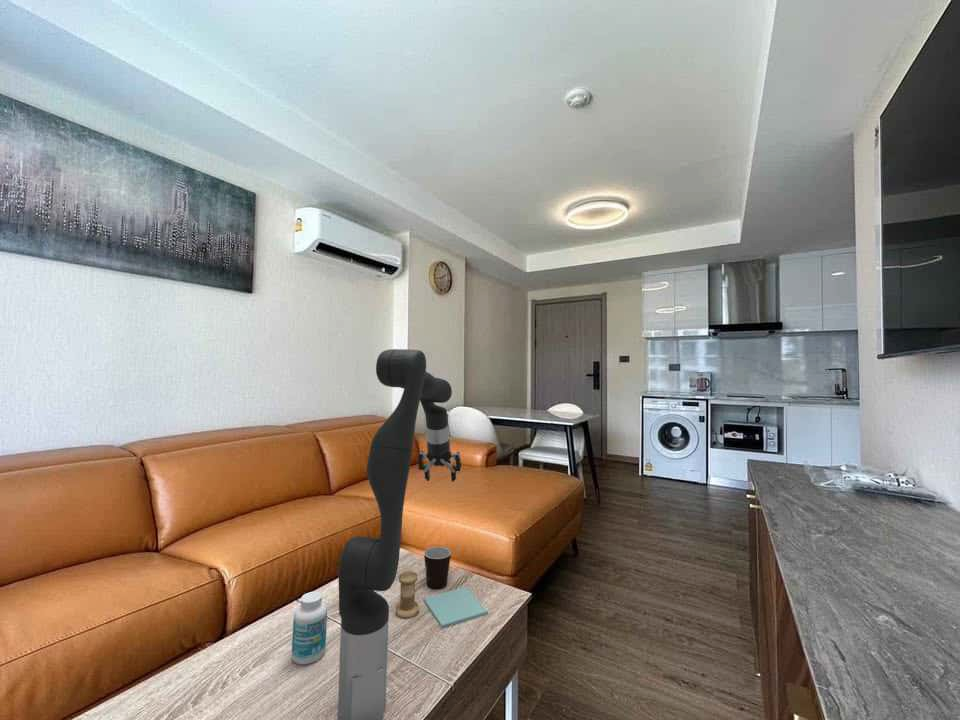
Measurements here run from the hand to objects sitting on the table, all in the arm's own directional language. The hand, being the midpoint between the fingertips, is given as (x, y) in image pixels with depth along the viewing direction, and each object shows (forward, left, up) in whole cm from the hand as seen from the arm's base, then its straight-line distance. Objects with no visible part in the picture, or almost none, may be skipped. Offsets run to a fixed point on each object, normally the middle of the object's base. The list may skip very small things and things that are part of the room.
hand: (440, 480), depth 134 cm
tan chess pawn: (-17, +16, -31) cm, 39 cm away
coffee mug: (-6, +2, -31) cm, 32 cm away
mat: (-21, +3, -31) cm, 37 cm away
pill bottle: (-23, +42, -31) cm, 57 cm away
